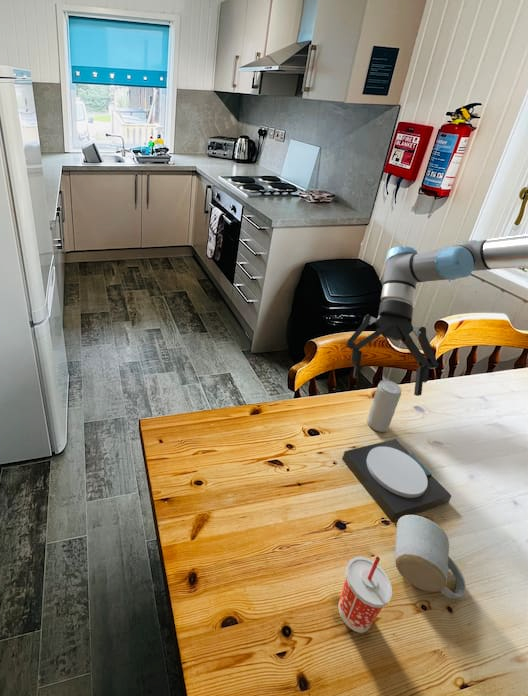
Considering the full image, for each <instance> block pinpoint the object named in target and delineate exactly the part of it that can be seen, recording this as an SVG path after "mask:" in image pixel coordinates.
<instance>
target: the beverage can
mask: <svg viewBox="0 0 528 696" xmlns="http://www.w3.org/2000/svg"><path fill="white" fill-rule="evenodd" d="M401 395H402V388H401V386H400V385H399V384H398V383H396V382H394V381H391V380H389V379H382V380H380V381H379V383H378V384H377V387H376V390H375V393H374V397H373V399H372V402H371V405H370V408H369V411H368V414H367V417H366V422H367V424H368V426H369V427H370V428H371V429H372V430H374V431H376V432H380V433H383V432H386V431H388V430H389V428H390V425H391V422H392V419H393V417H394V414H395V411H396V409H397V406H398V403H399V402H400V398H401Z"/></svg>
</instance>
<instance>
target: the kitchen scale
mask: <svg viewBox="0 0 528 696" xmlns="http://www.w3.org/2000/svg"><path fill="white" fill-rule="evenodd" d="M341 459H342V461H343V462H344V463H345V465H346V466H347V467H348V469H349V470H350V471H351V472H352V474H353V475H354V476H355V477H356V479H357V480H358V481H359V482H360V483H361V485H362V486H363V487H364V488H365V490H366V491H367V492H368V494H369V495H370V496H371V497H372V499H373V500H374V502H376V504H377V506H379V508H380V509H381V510H382V512H383V513H384V514H385V515H386V517H387V519H389V520H390V521H391V522H394V521H398V520H399V519H400V518H401V517H402V516H405V515H418V514H420V513H423V512H426V511H429V510H432V509H436V508H439V507H442V506H445V505H448V504H449V502H450V501H451V499H452V494H451V493H450V492H449V491H448V490H447V489H446V488H445V487H444V486H443V485H442V484H441V483H440V482H439V481H438V480H437V479H436V478H435V477H434V476H433V473H432V472H431V471H430V470H429V469H428V468H427V467H426V466H425V465H424V464H423V463H422V462H421V461H420V460H419V459H418V458H417V457H416V456H415V455H414V454H413V453H411V452H410V451H408V450H407V448H406V447H404V445H402V444H401V442H399V440H398V439H397V438H393V439H388V440H385V441H381V442H377V443H372V444H368V445H364V446H360V447H356V448H352V449H348V450H344V451H343V455H342V457H341Z"/></svg>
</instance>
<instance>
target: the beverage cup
mask: <svg viewBox="0 0 528 696" xmlns="http://www.w3.org/2000/svg"><path fill="white" fill-rule="evenodd" d="M380 560H381V558H380V557H379V556H376V557H375V559H374V561H373V560H372V559H369V558H367V557H365V556H354V557H352V558H350V559H349V560H348V563H347V564H346V568H345V578H344V581H343V585H342V589H341V593H340V597H339V601H338V610H337V611H338V612H339V616H340V618H341V619H342V621H343V623H344V624H345V625H346V626H347V627H348V628H349V629H350V630H352V631H354V632H356V633H361V634H363V633H365V632H367V631H369V629H370V628H371V626H372V625H373V624H374V622H375V620H376V618H377V617H378V616H379V614H380V612H381V611H382V609H383V608H384V607H386V606H388V604H389V603H390V601H391V599H392V596H393V586H392V582H391V581H390V579H389V576H388V574H387V573H386V572H385V571H384V569H383V568H382V567H381V566H380V565H379V563H380Z"/></svg>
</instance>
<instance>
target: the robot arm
mask: <svg viewBox="0 0 528 696" xmlns="http://www.w3.org/2000/svg"><path fill="white" fill-rule="evenodd" d="M384 262H385V263H384V275H383V282H382V287H381V288H382V289H381V295H380V302H379V309H378V314H377V318H376V317H374V316H372V315H371V314H369V313H367V314H365V316H364V317H363V321H362V323H361V325H360V326H359V327H358V328H357V329H356V330H355V332H354V333H353V334H352V335H351V336H350V338H349V339H348V340H347V341H346V342H345V347H346V348H349V349H350V350H351V357H350V363H351V364H354V368H353V374H352V379H355V380H356V379H358V378H359V374H360V368H361V361H362V355H363V351H362V350H361V349H362V348H363V347H365V346H367V345H368V344H370V343H371V342H372V341H374V340H375V339H377V338H378V337H379V336H382V337H383V339H391V340H393V341H396V342H399V341H401V343H402V344H403V345H405V347H406V348H407V350H408V351H409V353H410V354H411V356H412V357H413V358H414V360H415V361H416V363H417V364H418V367H417V368H416V374H415V384H414V392H413V396H417V397H419V396H422V393H423V383H424V384H425V383H427V382H428V381H429V371H430V370H434V369H436V368H439V366H440V364H439V362H438V359H437V357H436V355H435V352H434V350H433V348H432V346H431V343H430V342H429V338H428V336H427V328H426V327H425V326H421V327H418V326H414V325H413V323H412V322H413V315H414V307H413V306H414V305H415V298H416V288H417V283H426V282H437V281H447V280H448V281H449V280H450V281H453V280H457V279H463V278H468V277H469V276H470V275H472V272H477V271H490V270H499V269H500V270H501V269H502V270H503V269H516V268H517V269H519V268H528V234H521V235H514V236H513V235H512V236H505V237H496V238H489V239H480V240H477V239H473V240H472V239H471V240H466V241H462V242H460V243H457V244H453V245H449V246H446V247H442V248H438V249H433V250H428V251H423V252H419V250H418V249H416V248H414V247H411V246H401V245H399V246H394V247H392V248H390V249H389V250H388V252H387V255H386V260H385V261H384ZM373 323H374V325H375V326H376V327H377V329H376V330H375V331H374V332H373V333H371V334H370V335H368V336H367V337H365V338H364V339H362V340H361V341H359V342H358V343H356V344H355V341H356V340H357V339H358V338H359V337H360V335H361V334H362V333H363V332H364V331H365V329H366V328H367V327H368V326H371V325H372V324H373ZM411 333H414V335H415V336H416V337H417V340H418V343H419V345H420V348H421V350H422V352H423V353H422V352H421V351H420V349H419V348H418V346H417V345H416V343H415V342H414V339H413V338H412V336H411V335H410V334H411Z"/></svg>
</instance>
